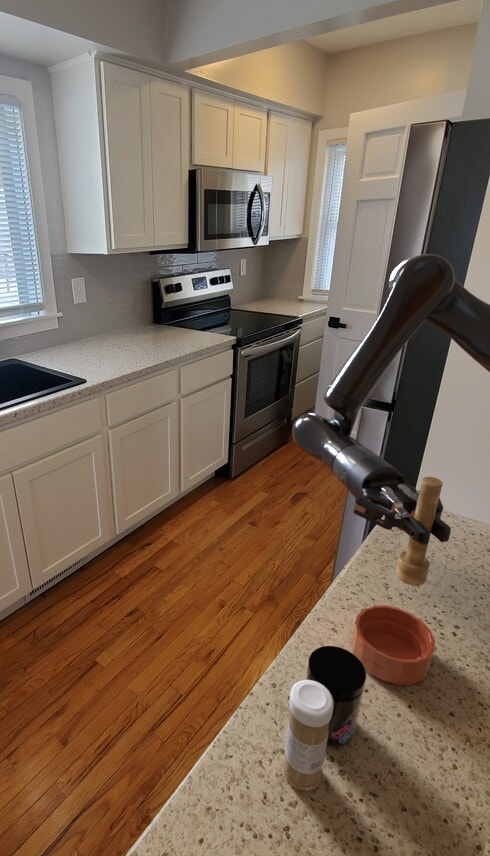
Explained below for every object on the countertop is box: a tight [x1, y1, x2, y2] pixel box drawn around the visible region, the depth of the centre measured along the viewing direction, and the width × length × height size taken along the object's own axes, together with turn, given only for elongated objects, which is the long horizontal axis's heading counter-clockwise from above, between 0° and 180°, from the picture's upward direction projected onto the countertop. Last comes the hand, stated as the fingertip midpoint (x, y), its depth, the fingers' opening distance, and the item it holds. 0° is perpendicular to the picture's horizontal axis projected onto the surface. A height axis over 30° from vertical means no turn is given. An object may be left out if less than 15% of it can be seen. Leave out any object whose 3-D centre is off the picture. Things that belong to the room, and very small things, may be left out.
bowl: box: [350, 604, 436, 686], centre depth 72 cm, size 11×11×5 cm
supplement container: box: [306, 645, 367, 748], centre depth 61 cm, size 7×7×10 cm
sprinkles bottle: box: [282, 679, 333, 792], centre depth 55 cm, size 5×5×14 cm
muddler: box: [395, 476, 443, 587], centre depth 67 cm, size 4×4×16 cm
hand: (436, 537), depth 64 cm, fingers closed on muddler, 2 cm apart
